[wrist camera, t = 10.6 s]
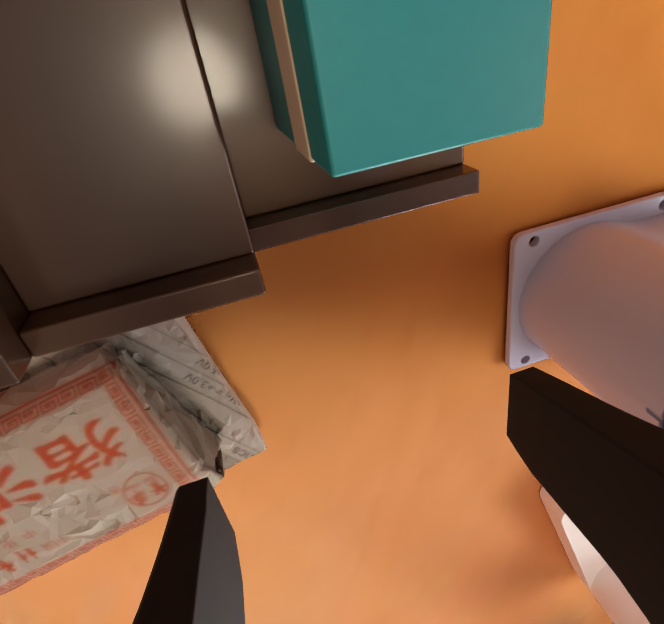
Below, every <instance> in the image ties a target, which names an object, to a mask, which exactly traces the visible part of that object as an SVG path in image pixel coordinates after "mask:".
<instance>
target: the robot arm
mask: <svg viewBox="0 0 664 624" xmlns="http://www.w3.org/2000/svg"><path fill="white" fill-rule="evenodd" d="M532 237H534V238H533V240H532V242H531V243H529V241H530V239H531V238H532ZM548 358H552V359H553V360H554V361H555V362H557V363H558V364H559V365H560V366H561V367H562V368H564V369H565V370H566V371H567V372H568V373H569V374H571V375H572V376H573V377H574V378H575V379H576V380H578V381H579V382H580V383H581V384H582V385H583V386H585V387H586V388H587V389H588V390H589V391H590V392H592V393H593V394H594V395H595V396H596V397H598V398H599V399H598V398H596V397H594V396H592V395H590V394H588V393H586V392H584V391H582V390H580V389H578V388H576V387H574V386H572V385H570V384H568V383H566V382H564V381H562V380H560V379H558V378H556V377H554V376H552V375H549V374H547V373H545V372H543V371H541V370H539V369H537V368H535V367H531V368H528V369H525V370H522V371H519V372H516V373H513V374H510V385H509V403H508V420H507V436H508V438H509V439H510V441H511V442H512V444H513V445H514V447H515V449H516V450H517V452H518V453H519V455H520V456H521V458H522V459H523V461H524V462H525V464H526V465H527V467H528V468H529V470H530V471H531V473H532V474H533V475H534V476H535V478H536V479H537V480H538V481H539V483H540V484H541V485H542V486H543V487H544V489H545V490H546V491H547V492H548V493H549V495H550V496H551V497H552V498H553V499H554V501H555V502H556V503H557V504H558V505H559V507H560V508H561V509H562V510H563V511H564V513H565V514H566V515H567V516H568V517H569V519H570V520H571V521H572V522H573V523H574V524H575V526H576V527H577V528H578V529H579V530H580V532H581V533H582V534H583V535H584V536H585V538H586V539H587V540H588V541H589V542H590V543H591V545H592V546H593V547H594V548H595V549H596V551H597V552H598V553H599V554H600V555H601V557H602V558H603V559H604V560H605V562H606V563H607V564H608V566H609V567H610V568H611V569H612V571H613V572H614V573H615V574H616V576H617V577H618V579H619V580H620V581H621V583H622V584H623V586H624V587H625V588H626V590H627V591H628V593H629V594H630V596H631V597H632V598H633V600H634V601H635V603H636V604H637V606H638V607H639V608H640V610H641V611H642V613H643V614H644V615H645V617H646V618H647V620H648V621H649V623H650V624H664V191H663V192H659V193H656V194H652V195H649V196H645V197H642V198H638V199H634V200H631V201H627V202H624V203H620V204H617V205H613V206H610V207H606V208H603V209H599V210H595V211H592V212H588V213H585V214H581V215H578V216H574V217H571V218H567V219H563V220H560V221H556V222H553V223H549V224H546V225H542V226H539V227H535V228H531V229H528V230H524V231H521V232H519V233H517V234H516V235H514V236H513V238H512V240H511V243H510V261H509V283H508V305H507V328H506V350H505V364H506V365H507V366H508V367H509V368H510V369H517V368H520V367H524V366H527V365H530V364H533V363H536V362H539V361H542V360H545V359H548ZM132 624H245V613H244V596H243V581H242V575H241V568H240V562H239V556H238V550H237V544H236V538H235V532H234V530H233V528H232V526H231V524H230V522H229V520H228V518H227V516H226V514H225V512H224V510H223V507H222V505H221V503H220V501H219V499H218V497H217V495H216V493H215V491H214V489H213V487H212V485H211V483H210V480H209V478H208V477H205V478H202V479H200V480H197V481H194V482H191V483H188V484H185V485H182V486H179V488H178V489H177V490H176V493H175V496H174V500H173V504H172V508H171V511H170V515H169V518H168V522H167V525H166V529H165V532H164V535H163V538H162V542H161V545H160V548H159V551H158V554H157V557H156V560H155V563H154V566H153V569H152V572H151V575H150V577H149V580H148V583H147V586H146V589H145V592H144V595H143V598H142V600H141V603H140V606H139V608H138V611H137V613H136V616H135V618H134V621H133V623H132Z"/></svg>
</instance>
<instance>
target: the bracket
mask: <svg viewBox="0 0 664 624" xmlns="http://www.w3.org/2000/svg"><path fill="white" fill-rule="evenodd" d="M540 497H541V499H542V502H543V504H544V506H545V508H546V510H547V513H548V515H549V517H550V519H551V521H552V524H553V526H554V528H555V530H556V532H557V534H558V537H559V539H560V541H561V543H562V545H563V548H564V550H565V552H566V554H567V556H568V559H569V561H570V563H571V565H572V567H573V569H574V570H575V572H576V573H577V574H578V576H579V577H580V579H581V580H582V581H583V583H584V584H585V585H586V587H587V588H588V589H589V591H590V592H591V593H592V595H593V596H594V597H595V599H596V600H597V602H598V603H599V604H600V606H601V607H602V608H603V610H604V611H605V612H606V614H607V615H608V616H609V618H610V619H611V620H612V622H613V623H614V624H650V623H649V621H648V620H647V618H646V617H645V615H644V614H643V613H642V611H641V610H640V608H639V607H638V606H637V604H636V603H635V601H634V600H633V598H632V597H631V596H630V594H629V593H628V591H627V590H626V588H625V587H624V586H623V584H622V583H621V581H620V580H619V579H618V577H617V576H616V574H615V573H614V572H613V571H612V569H611V568H610V567H609V566H608V564H607V563H606V562H605V560H604V559H603V558H602V557H601V555H600V554H599V553H598V552H597V551H596V549H595V548H594V547H593V546H592V545H591V543H590V542H589V541H588V540H587V539H586V538H585V536H584V535H583V534H582V533H581V532H580V530H579V529H578V528H577V527H576V526H575V524H574V523H573V522H572V521H571V520H570V519H569V517H568V516H567V515H566V514H565V513H564V511H563V510H562V509H561V508H560V507H559V505H558V504H557V503H556V502H555V501H554V499H553V498H552V497H551V496H550V495H549V493H548V492H547V491H546V490H545V489H544V487H543V486H542V487H541V489H540Z"/></svg>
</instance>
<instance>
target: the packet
mask: <svg viewBox="0 0 664 624" xmlns="http://www.w3.org/2000/svg"><path fill="white" fill-rule="evenodd" d="M249 2H250V7H251V11H252V16H253V20H254V25H255V29H256V34H257V39H258V43H259V48H260V52H261V57H262V61H263V66H264V71H265V75H266V80H267V84H268V89H269V93H270V98H271V103H272V107H273V112H274V116H275V121H276V125H277V128H278V129H279V130H280V131H281V132H283V133H284V134H285V135H286V136H287V137H288V138H289V139H290V140H292V141H293V142H294V143H295V145H296V149H297V150H298V151H299V152H300V153H301V154H302V155H303V156H304V157H305V158H307V159H308V160H309V161H310V162H316V163H317V164H318V165H320V166H321V167H322V168H323V169H324V170H325V171H326V172H327V173H328V174H330V175H331V176H332V177H339V176H343V175H347V174H351V173H355V172H359V171H363V170H367V169H371V168H376V167H380V166H384V165H388V164H392V163H396V162H400V161H404V160H408V159H412V158H416V157H420V156H424V155H428V154H432V153H436V152H440V151H444V150H448V149H452V148H456V147H460V146H464V145H468V144H472V143H476V142H480V141H484V140H488V139H492V138H496V137H500V136H504V135H508V134H512V133H516V132H520V131H524V130H528V129H532V128H536V127H539V126H541V125H542V124H543V115H544V101H545V88H546V74H547V61H548V47H549V34H550V20H551V7H552V0H249Z"/></svg>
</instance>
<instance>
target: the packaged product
mask: <svg viewBox="0 0 664 624" xmlns="http://www.w3.org/2000/svg"><path fill="white" fill-rule="evenodd" d="M266 448H267V447H266V445H265V442H264V440H263V438H262V435H261V433H260V431H259V428H258V426H257V424H256V423H255V421H254V419H253V417H252V416H251V415H250V413H249V412H248V410H247V409H246V408H245V406H244V405H243V403H242V402H241V401H240V399H239V398H238V396H237V395H236V394H235V392H234V391H233V389H232V388H231V387H230V385H229V384H228V382H227V381H226V379H225V378H224V376H223V375H222V373H221V372H220V370H219V369H218V367H217V366H216V364H215V363H214V361H213V360H212V358H211V356H210V355H209V353H208V352H207V350H206V349H205V347H204V346H203V344H202V343H201V341H200V340H199V338H198V337H197V335H196V334H195V332H194V331H193V329H192V328H191V326H190V325H189V323H188V321H187V320H186V318H185V317H184V316H183V317H180V318H176V319H172V320H169V321H165V322H162V323H158V324H154V325H151V326H147V327H144V328H140V329H136V330H133V331H129V332H126V333H122V334H118V335H115V336H111V337H108V338H104V339H100V340H97V341H93V342H90V343H86V344H83V345H79V346H75V347H72V348H68V349H65V350H61V351H57V352H54V353H50V354H47V355H43V356H39V357H32V359H31V361H30V363H29V365H28V367H27V369H26V371H25V373H24V375H23V377H22V379H21V381H20V382H19V383H17V384H15V385H11V386H8V387H4V388H1V389H0V595H2V594H4V593H7V592H9V591H11V590H13V589H15V588H17V587H19V586H21V585H23V584H24V583H26V582H28V581H29V580H31V579H32V578H36V577H38V576H41V575H44V574H46V573H48V572H49V571H51V570H53V569H55V568H57V567H58V566H60V565H62V564H64V563H66V562H68V561H70V560H72V559H75V558H77V557H78V556H80V555H82V554H84V553H86V552H88V551H90V550H92V549H93V548H95V547H96V546H98V545H100V544H102V543H104V542H106V541H109V540H111V539H114V538H116V537H118V536H120V535H122V534H124V533H126V532H127V531H129V530H131V529H133V528H136V527H138V526H140V525H142V524H144V523H146V522H148V521H150V520H152V519H153V518H155V517H156V516H158V515H159V514H162V513H165V512H168V511H170V510H171V508H172V504H173V500H174V496H175V493H176V490H177V489H178V488H179V486H182V485H185V484H188V483H191V482H194V481H197V480H200V479H202V478H205V477H208V478H209V480H210V483H211V485H212V487H213V488H215V487H216V485H217V484H218V483H219V481H220V480H221V479H222V478H223V477H224V470H225V469H228V468H230V467H232V466H234V465H235V464H236V463H238V462H241V461H243V460H245V459H247V458H249V457H251V456H254V455H256V454H258V453H261V452H263V451H264V450H265V449H266Z"/></svg>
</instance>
